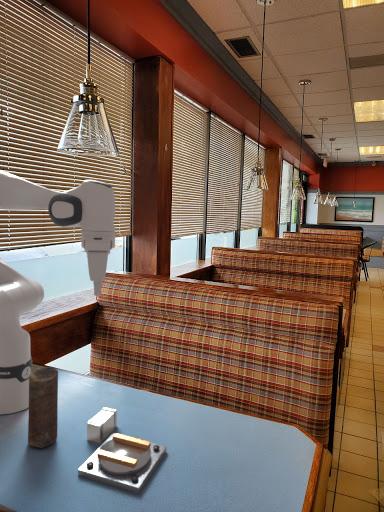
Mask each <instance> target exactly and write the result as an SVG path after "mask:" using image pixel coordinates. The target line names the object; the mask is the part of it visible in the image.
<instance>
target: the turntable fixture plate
mask: <svg viewBox="0 0 384 512" xmlns="http://www.w3.org/2000/svg"><path fill="white" fill-rule="evenodd" d="M166 453H167V446H165V445H161V444H158V443H153V442H151V441H148V440H145V439H142V438H140V437H138V436H137V437H136V436H129V435H125V434H121V433H117V432H116V433H115V432H111V433H110V435H109V436H108V438H107V439H105V440H104V441H103V442H102V444H101V445H100V446H98V448H97V449H96V450H95V451H94V452H93V453H92V454H91V455H90V456H89V457H88V458H87V460H86V461H84V463H83V464H82V465H81V466H79V468H78V469H77V476H79V477H83V478H86V479H88V480H92V481H96V482H98V481H99V483H101V482H102V484H106V485H108V486H112V487H115V488H119V489H122V490H125V491H128V492H131V493H134V494H137V495H139V494H140V493H141V491H142V490H143V488H144V486H145V485H146V483H147V482H148V481H149V479H150V478H151V476H152V474H153V473H154V471H155V470H156V468H157V467H158V465H159V463H160V462H161V461H162V459H163V457H164V456H165V455H166Z"/></svg>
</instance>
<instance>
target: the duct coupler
mask: <svg viewBox="0 0 384 512" xmlns="http://www.w3.org/2000/svg"><path fill="white" fill-rule="evenodd" d="M117 422H118V410H117V409H116V408H115V409H114V408H109V407H106V406H104V407H102V408H101V410H100V411H99V412H98V413H97V414H95V415H94V416H93V417H92V418H90V419H89V420H88V421H87V423H86V426H87V427H86V440H87V441H90V442H91V443H92V442H94V443H96V444H101V443H103V442H104V441H105V440H106V437H109V434H111V433H112V431H113V430H115V429H116V428H117V425H118V423H117Z"/></svg>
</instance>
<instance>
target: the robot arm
mask: <svg viewBox="0 0 384 512" xmlns="http://www.w3.org/2000/svg"><path fill="white" fill-rule="evenodd" d="M115 197H116V196H115V191H114V188H113V186H112V185H111V184H109V183H108V182H105V181H99V180H94V179H85V180H84V181H83V182H81V184H79V185H77V186H76V187H74V188H72V189H69V190H65V191H58V190H56V189H55V190H54V189H51V188H47V187H44V186H41V185H39V184H36V183H35V182H32V181H29V180H26V179H25V178H22V177H20V176H17V175H15V174H12V173H10V172H7V171H4V170H0V210H8V211H9V210H12V211H13V210H30V209H31V210H47V212H48V216H49V219H50V220H51V222H52V223H53V224H54V225H56V226H58V227H62V228H81V248H83V249H84V251H85V253H86V257H87V267H88V274H89V279H90V281H91V282H92V283H93V294H94V296H98V297H99V296H100V297H101V296H102V288H103V287H102V286H103V285H102V283H103V282H104V281H105V279H106V273H107V265H108V259H109V255H110V254H111V250H113V249H114V248H116V227H115V222H114V221H115V217H116V198H115ZM44 299H45V291H44V288H43V286H42V284H41V283H40V282H39V281H37V280H35V279H32V278H30V277H27V276H25V275H24V274H22V273H20V272H19V271H18V270H16V269H14V268H13V267H12V266H10V265H9V264H8V263H6V262H5V261H4V260H3V259H2V258H1V257H0V415H7V414H14V413H19V412H21V411H24V410H27V409H29V375H30V374H31V373H32V372H33V371H32V370H33V358H32V355H31V335H30V333H29V332H28V331H27V330H25V329H24V328H22V325H21V322H20V317H21V316H22V315H24V314H26V313H27V314H28V313H29V312H32V311H33V310H35V309H36V308H37V307H38V306H39V305H41V304H42V302H43V300H44Z"/></svg>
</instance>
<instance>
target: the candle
mask: <svg viewBox="0 0 384 512" xmlns="http://www.w3.org/2000/svg"><path fill="white" fill-rule="evenodd" d="M58 390H59V370H58V369H57V368H56V367H53V366H41V367H39V368H36V369H34V370H33V371H32V373H31V374H30V375H29V407H28V421H27V445H29V446H30V447H34V448H35V447H36V448H40V449H43V448H45V447H47V446H48V447H49V446H50V445H51V444H53V443H54V442H56V441H57V439H58V426H59V425H58V414H59V413H58V406H59V405H58V404H59V403H58V402H59V399H58V397H59V394H58V392H59V391H58Z"/></svg>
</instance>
